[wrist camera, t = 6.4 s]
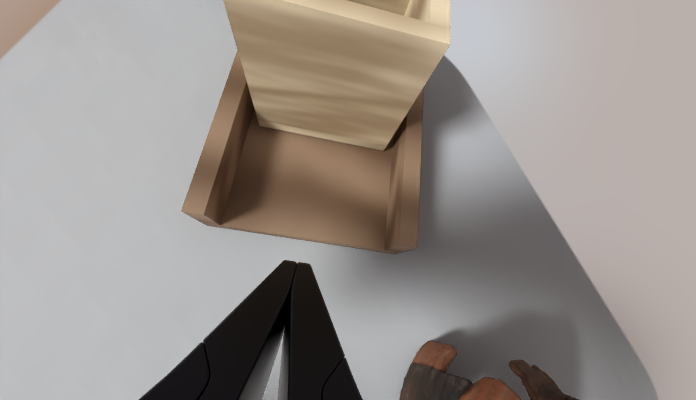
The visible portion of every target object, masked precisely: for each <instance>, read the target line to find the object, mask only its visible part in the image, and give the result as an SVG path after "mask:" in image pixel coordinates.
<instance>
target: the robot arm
mask: <svg viewBox="0 0 696 400" xmlns="http://www.w3.org/2000/svg"><path fill="white" fill-rule="evenodd" d="M284 328H285V329H284ZM283 332H284V335H283ZM282 336H283V344H282V356H281V367H280V379H279V391H278V400H363V399H362V397H361V395H360V393H359V390H358V388H357V385H356V383H355V380H354V378H353V376H352V373H351V371H350V368H349V365H348V363H347V360H346V358H344V356H345V355H344V352H343V350H342V347H341V344H340V342H339V339H338V336H337V334H336V331H335V329H334V326H333V323H332V321H331V318H330V315H329V313H328V310H327V307H326V305H325V302H324V299H323V297H322V294H321V291H320V289H319V286H318V283H317V281H316V278H315V275H314V273H313V270H312V267H311V265H310V264H307V263H301V262H299V263H296V262H294V261H288V260H285V261H283V262H282V263H281V264H280V265H279V266H278V267H277V268H276V269H275V270H274V271H273V272H272V273H271V274H270V275H269V276H268V277H267V278H266V279H265V280H264V281H263V282H262V283H261V284H260V285H259V286H258V287H257V288H256V289H255V290H254V291H253V292H252V293H251V294H249V295H248V296H247V297H246V298H245V299H244V300H243V301H242V302H241V303H240V304H239V305H238V306H237V307H236V308H235V309H234V310H233V311H232V312H231V313H230V314H229V315H228V316H227V317H226V318H225V319H224V320H223V321H222V322H221V323H220V324H219V325H218V326H217V327H216V328H215V329H214V330H213V331H212V332H211V333H210V334H209V335H208V336H207V337H206V338H205V339H204V340H203V343H200V344H199V345H198V346H197V347H196V348H195V349H194V350H193V351H192V352H191V353H190V354H189V355H188V356H187V357H186V358H185V359H183V360H182V361H181V362H180V363H179V364H178V365H177V366H176V367H175V368H174V369H173V370H172V371H171V372H170V373H169V374H168V375H167V376H165V377H164V378H163V379H162V380H161V381H160V382H158V383H157V384H156V385H155V386H154V387H153V388H152V389H150V390H149V391H148V392H147V393H146V394H145V395H143V396H142V397H141V398H140V399H139V400H262V397H263V394H264V391H265V388H266V385H267V382H268V379H269V376H270V373H271V370H272V367H273V364H274V361H275V358H276V355H277V352H278V349H279V346H280V342H281V339H282Z"/></svg>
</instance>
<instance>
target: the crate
mask: <svg viewBox="0 0 696 400" xmlns="http://www.w3.org/2000/svg"><path fill="white" fill-rule="evenodd" d="M223 1H224V4H225V8H226V11H227V15H228V18H229V22H230V25H231V29H232V32H233V35H234V39H235V42H236V46H237V49H238V53H239V56H240V60H241V63H242V67H243V70H244V74H245V77H246V80H247V84H248V87H249V91H250V94H251V98H252V101H253V105H254V108H255V112H256V115H257V119H258V122H259V126H263V127H268V128H273V129H278V130H283V131H288V132H293V133H298V134H303V135H308V136H313V137H318V138H323V139H327V140H332V141H337V142H342V143H347V144H352V145H357V146H362V147H367V148H372V149H377V150H382V151H384V149H385V148H386V146H387V145H388V143H389V141H390V140H391V138H392V137H393V135H394V133H395V132H396V130H397V129H398V127H399V125H400V124H401V122H402V121H403V119H404V117H405V116H406V114H407V113H408V111H409V109H410V108H411V106H412V105H413V103H414V101H415V100H416V98H417V97H418V95H419V93H420V92H421V90H422V89H423V87H424V85H425V84H426V82H427V81H428V79H429V77H430V76H431V74H432V73H433V71H434V69H435V68H436V66H437V65H438V63H439V61H440V60H441V58H442V57H443V55H444V53H445V52H446V50H447V49H448V47H449V45H450V0H223Z"/></svg>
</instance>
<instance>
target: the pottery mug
mask: <svg viewBox="0 0 696 400" xmlns="http://www.w3.org/2000/svg"><path fill="white" fill-rule="evenodd" d="M456 355H457V351H456V349H455V348H454V347H453V346H451V345H448V344H441V343H438V342H433V341H428V342H427V343H426V344H425V345H424V346H423V347H422V348H421V349H420V351H419V352H418V353H417V355H416V357H415V358H414V360H413V363H412V364H411V365H410V367H409V370H408V373H407V375H406V377H405V378H404V383H403V387H402V390H401V394H400V400H521V399H520V398H519V397H518V396H517V395H516V394H515V393H514V392H513V391H512V390H511V389H510V388H509V387H508V386H507V385H506V384H505V383H504V382H502V381H501V380H496V379H494V378H487V377H484V378H482V379H480V380H478V381H477V382H476V383H474V384H473V383H472V382H471V381H470V380H467V379H464V378H460V377H456V376H453V375H451V374H445V373H446V371H447V369H448V366H449V365H450V363H451V361H452V360H453V359H454V357H455V356H456ZM509 366H510V368H511V370H512V371H513V372H514V373H515V374H516V375H518V376H519V377H520V378H521V380H522V383H523V385H524V386H525V387H526V390H527V392H528V394H529V397H530V399H531V400H578V399H576V398H572V397H571V396H568V395H565V394H564V393H562V392H561V390H560V389H559V388H558V387H557V385H556V384H555V382H554V381H553V380H552V379H551V378H550V377H549V376H548V375H547V374H546V373H545V372H543V371H541V370H540V369H539V368H538V367H537V366H535V365H533V366H532V367H531V366H529V365H528V364H527V363H526V362H525V361H523V360H513V361H511V362H509Z"/></svg>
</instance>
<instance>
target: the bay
mask: <svg viewBox="0 0 696 400" xmlns="http://www.w3.org/2000/svg"><path fill="white" fill-rule="evenodd" d="M423 90H424V87H423V89H422V90H421V92H420V93H419V95H418V97H417V98H416V100H415V101H414V103H413V105H412V106H411V108H410V109H409V111H408V113H407V114H406V116H405V117H404V119H403V121H402V122H401V124H400V125H399V127H398V129H397V130H396V132H395V133H394V135H393V137H392V138H391V140H390V141H389V143H388V145H387V146H386V148H385V149H384V151H382V150H377V149H372V148H367V147H362V146H357V145H352V144H347V143H342V142H337V141H332V140H327V139H323V138H318V137H313V136H308V135H303V134H298V133H293V132H288V131H283V130H278V129H273V128H268V127H263V126H259V122H258V119H257V115H256V112H255V108H254V105H253V101H252V98H251V94H250V91H249V87H248V84H247V80H246V77H245V74H244V70H243V67H242V63H241V60H240V56H239V53H238V50H237V53H236V56H235V59H234V62H233V65H232V68H231V70H230V73H229V76H228V79H227V82H226V85H225V88H224V90H223V93H222V96H221V99H220V102H219V105H218V108H217V110H216V113H215V116H214V119H213V122H212V125H211V128H210V130H209V133H208V136H207V139H206V142H205V145H204V148H203V150H202V153H201V156H200V159H199V162H198V165H197V167H196V170H195V173H194V176H193V179H192V182H191V185H190V187H189V190H188V193H187V196H186V199H185V202H184V205H183V207H182V210H181V211H182V212H184V213H185V214H187V215H189V216H191V217H193V218H194V219H196V220H198V221H200V222H202V223H203V224H205V225H207V226H214V227H221V228H227V229H234V230H240V231H247V232H254V233H260V234H267V235H273V236H280V237H286V238H293V239H300V240H306V241H313V242H319V243H326V244H333V245H339V246H346V247H352V248H359V249H366V250H372V251H379V252H385V253H392V254H398V253H401V252H405V251H409V250H412V249H416V248H417V244H418V218H419V192H420V167H421V141H422V115H423Z"/></svg>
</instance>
